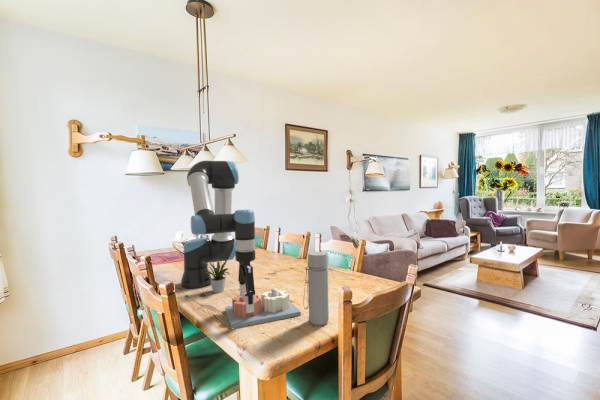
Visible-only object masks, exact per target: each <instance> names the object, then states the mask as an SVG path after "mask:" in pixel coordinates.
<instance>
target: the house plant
mask: <svg viewBox="0 0 600 400" xmlns="http://www.w3.org/2000/svg"><path fill="white" fill-rule="evenodd" d="M210 261H211V260H210ZM228 261H230V260H229V259H228V260H226V261H223V260H222V261H219V258H218V262H217V263H216V267H215V264H214V263H215V262H210V263H209V266H208V269H209V270H211V271H207V272H206V273H208V274H210V275H212V277H211V284H210V285H211V289H212V293H214V294H219V293H220V292H221V293H224V292H225V286H226V276H227V275H226V274H228V275H230V272H228V270H229V267H227V268H225V266H226V265H227V263H228ZM222 262H223V264H222V265H221V263H222ZM204 263H205V262H204ZM206 264H207V263H206Z"/></svg>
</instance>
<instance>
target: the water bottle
mask: <svg viewBox="0 0 600 400" xmlns="http://www.w3.org/2000/svg"><path fill="white" fill-rule="evenodd" d="M304 268H305V273H307V278H304V279H305V281H304V282H305V283H304V285H306V288H304V292H303V296H305V293H306V292H307V293H306V294H307V297H308V305H307V307H305V306H303V308H304V310H308V321H309V322H310V323H311V325H314V326H324V325H327V324H328V322H329V317H330V315H329V309H330V307H329V264H328V253H327V252H325V251H324V252H323V251H311V252H309V253H308V257H307V266H305V267H304ZM306 290H307V291H306ZM302 303H303V305H305V298H303V301H302Z"/></svg>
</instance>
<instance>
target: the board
mask: <svg viewBox="0 0 600 400" xmlns="http://www.w3.org/2000/svg"><path fill="white" fill-rule="evenodd" d="M245 294H246V293H243V302H246V296H245ZM260 295H261V297H260V299H261V312H260V313H259V314H257V316H253V315H251V316H246V318H242V317H240V318H238V317H235V316H234V313H233V312H232V305H230V306H224V311H226V312H225V313H226V317H227V320H228V319H229V320H228V323H229V324H230V327H232V328H234V329H238V328H237V327H239V328H244V327H248V325H250V326H254V324H255V325H259V324H260V325H261V324H265V323H269V322H274V321H279V320H284V319H290V318H294V317H300V316H302V314H301V313H302V312H301V310H300V309H299V308H298V307H297V306H295V304H294V303H293V302H292V301H291V300H290V294H289V293H287V292H286V290H282V289H279V288H276V287H273V288H272V289H271V291H269V290H267V291H266V290H265V292H262V293H261V294H260ZM243 326H244V327H243ZM232 328H231V329H232Z"/></svg>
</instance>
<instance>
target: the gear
mask: <svg viewBox="0 0 600 400" xmlns="http://www.w3.org/2000/svg"><path fill="white" fill-rule="evenodd" d="M231 303H232V304H231V306H232V312H233V313H234V316H235V317H238V318H240V317H242V318H246V316H251V315H253V316H257V314H259V313H260V312H261V297H260V298H259V295H258V294H255V295H254V312H251V313H246V302H243V296H241V295H240V294H239V295H237V296H234V297H233V298H232V299H231Z"/></svg>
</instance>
